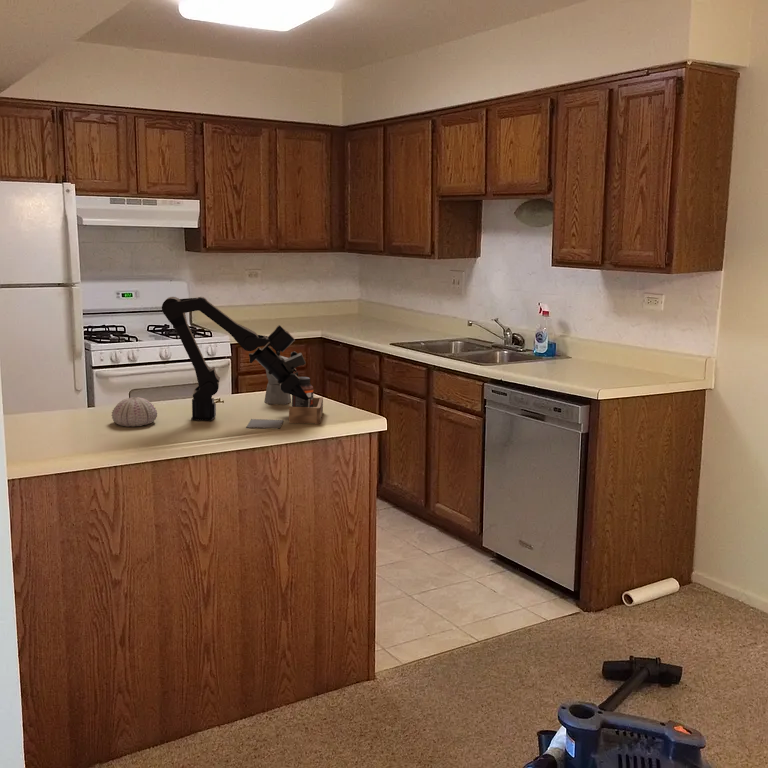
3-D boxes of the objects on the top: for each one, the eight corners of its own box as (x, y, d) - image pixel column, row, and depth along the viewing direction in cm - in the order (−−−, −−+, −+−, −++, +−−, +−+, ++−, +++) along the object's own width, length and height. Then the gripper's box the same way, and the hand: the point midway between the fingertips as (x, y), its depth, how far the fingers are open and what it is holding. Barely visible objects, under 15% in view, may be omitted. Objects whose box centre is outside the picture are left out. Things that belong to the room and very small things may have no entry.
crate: (289, 423, 257) (289, 407, 256) (293, 411, 273) (293, 396, 272) (319, 423, 257) (320, 408, 256) (322, 412, 273) (323, 397, 272)
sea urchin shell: (113, 430, 243) (112, 403, 242) (110, 419, 255) (109, 394, 254) (160, 427, 248) (159, 400, 247) (154, 417, 260) (154, 392, 259)
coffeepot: (294, 405, 282) (294, 353, 278) (266, 406, 279) (266, 353, 276) (287, 396, 296) (287, 346, 293) (261, 397, 294) (261, 346, 291)
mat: (246, 428, 249) (246, 426, 249) (251, 420, 259) (251, 419, 259) (279, 428, 250) (279, 427, 250) (283, 421, 260) (283, 419, 259)
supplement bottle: (315, 419, 263) (315, 379, 260) (293, 420, 261) (294, 380, 258) (310, 414, 269) (311, 375, 267) (290, 415, 267) (290, 376, 265)
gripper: (292, 349, 251) (328, 385, 255) (289, 340, 269) (322, 374, 273) (265, 374, 251) (301, 410, 255) (264, 364, 269) (298, 397, 273)
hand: (307, 397), depth 264 cm, fingers closed on supplement bottle, 7 cm apart
